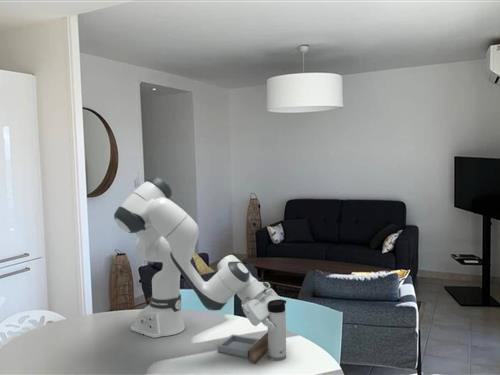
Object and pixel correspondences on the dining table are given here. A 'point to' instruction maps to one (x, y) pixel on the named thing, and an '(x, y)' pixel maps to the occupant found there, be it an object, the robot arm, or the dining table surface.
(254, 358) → the walnut rail
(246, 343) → the slate tray
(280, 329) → the travel mug
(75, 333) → the dining table surface
